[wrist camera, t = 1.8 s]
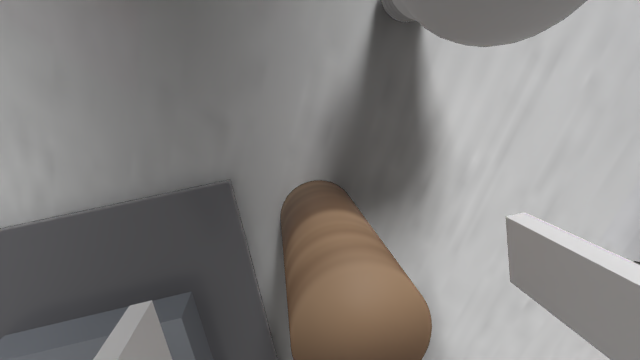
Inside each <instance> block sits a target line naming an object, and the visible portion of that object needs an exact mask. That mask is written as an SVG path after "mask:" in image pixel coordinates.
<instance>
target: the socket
mask: <svg viewBox="0 0 640 360" xmlns="http://www.w3.org/2000/svg"><path fill="white" fill-rule="evenodd" d="M151 300H152V302H153V305H154V308H155V311H156V313H157V316H158V319H159V322H160V325H161V328H162V331H163V334H164V337H165V340H166V343H167V346H168V349H169V351H170V354H171V357H172V360H278V359H277V356H276V352H275V348H274V344H273V340H272V337H271V333H270V329H269V325H268V321H267V317H266V314H265V310H264V306H263V302H262V298H261V295H260V291H259V287H258V283H257V279H256V276H255V272H254V268H253V264H252V260H251V256H250V253H249V249H248V245H247V241H246V237H245V234H244V230H243V226H242V222H241V218H240V215H239V211H238V207H237V203H236V199H235V195H234V192H233V188H232V184H231V180H225V181H221V182H216V183H211V184H207V185H202V186H197V187H192V188H188V189H183V190H178V191H174V192H169V193H164V194H160V195H155V196H150V197H146V198H141V199H136V200H132V201H127V202H122V203H117V204H113V205H108V206H103V207H99V208H94V209H89V210H85V211H80V212H75V213H71V214H66V215H61V216H57V217H52V218H47V219H42V220H38V221H33V222H28V223H24V224H19V225H14V226H10V227H5V228H0V360H93V359H94V358H95V356H96V355H97V353H98V352H99V350H100V349H101V347H102V346H103V344H104V343H105V341H106V340H107V338H108V337H109V335H110V334H111V332H112V331H113V329H114V328H115V326H116V325H117V323H118V322H119V320H120V319H121V318H122V316H123V315H124V313H125V312H126V310H127V309H128V307H129V306H130V305H134V304H138V303H143V302H147V301H151Z"/></svg>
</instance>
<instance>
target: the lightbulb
mask: <svg viewBox="0 0 640 360" xmlns="http://www.w3.org/2000/svg"><path fill="white" fill-rule="evenodd" d="M586 1H587V0H381V2H382V5H383V7H384V10H385V11H386V12H387V14H388V15H389V16H390V17H392V18H393V19H395V20H397V21H400V22H411V21H418V22H419V23H420V24H421V25H422V26H423V27H424V28H425V29H427V30H429V31H430V32H432V33H434V34H435V35H437V36H439V37H440V38H443V39H446V40H449V41H452V42H455V43H459V44H463V45H468V46H478V47H490V46H498V45H505V44H511V43H515V42H518V41H521V40H524V39H527V38H530V37H533V36H535V35H537V34H539V33H541V32H543V31H545V30H547V29H548V28H550V27H552V26H554V25H555V24H557V23H559V22H560V21H562V20H564V19H565V18H567V17H568V16H569V15H570V14H572V13H573V12H574V11H575V10H576V9H578V8H579V7H580V6H581V5H582V4H583V3H585V2H586Z"/></svg>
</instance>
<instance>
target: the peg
mask: <svg viewBox="0 0 640 360" xmlns="http://www.w3.org/2000/svg"><path fill="white" fill-rule="evenodd" d="M281 230H282V242H283V255H284V267H285V280H286V292H287V305H288V317H289V330H290V342H291V351H292V356H293V359H294V360H422V358H423V356H424V354H425V352H426V350H427V348H428V345H429V342H430V337H431V330H432V323H431V315H430V311H429V308H428V306H427V303H426V301H425V300H424V298H423V296H422V295H421V294H420V292H419V291H418V290H417V288H416V287H415V285H414V284H413V283H412V281H411V280H410V279H409V277H408V276H407V275H406V273H405V272H404V270H403V269H402V268H401V266H400V265H399V264H398V262H397V261H396V260H395V258H394V257H393V255H392V254H391V253H390V251H389V250H388V249H387V247H386V246H385V245H384V243H383V242H382V240H381V239H380V238H379V236H378V235H377V234H376V232H375V231H374V230H373V228H372V227H371V225H370V224H369V223H368V221H367V220H366V219H365V217H364V216H363V215H362V213H361V212H360V210H359V209H358V208H357V206H356V205H355V204H354V202H353V201H352V200H351V198H350V197H349V195H348V194H347V193H346V192H345V191H344V190H343V189H342V188H341V187H339V186H338V185H336V184H334V183H331V182H328V181H322V180H316V181H310V182H306V183H304V184H302V185H300V186H298V187H297V188H295V189H294V190H293V191H292V192H291V193H290V194H289V195H288V196H287V198H286V199H285V201H284V203H283V206H282V209H281Z"/></svg>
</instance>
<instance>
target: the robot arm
mask: <svg viewBox="0 0 640 360" xmlns="http://www.w3.org/2000/svg"><path fill="white" fill-rule="evenodd" d="M506 228H507V243H508V257H509V271H510V282H511V283H513V284H514V285H515V286H516V287H518V288H519V289H520V290H522V291H523V292H524V293H526V294H527V295H528V296H529V297H531V298H532V299H533V300H535V301H536V302H537V303H538V304H540V305H541V306H542V307H544V308H545V309H546V310H547V311H549V312H550V313H551V314H553V315H554V316H555V317H556V318H558V319H559V320H560V321H562V322H563V323H564V324H565V325H567V326H568V327H569V328H571V329H572V330H573V331H574V332H576V333H577V334H578V335H580V336H581V337H582V338H583V339H585V340H586V341H587V342H589V343H590V344H591V345H592V346H594V347H595V348H596V349H598V350H599V351H600V352H602V353H603V354H604V355H605V356H607V357H608V358H609V359H611V360H640V262H636V261H634V262H632V261H630V260H628V259H626V258H624V257H621V256H619V255H617V254H615V253H613V252H611V251H608V250H606V249H604V248H602V247H600V246H597V245H595V244H593V243H591V242H589V241H587V240H584V239H582V238H580V237H578V236H576V235H573V234H571V233H569V232H567V231H565V230H563V229H560V228H558V227H556V226H554V225H552V224H549V223H547V222H545V221H543V220H541V219H539V218H536V217H534V216H532V215H530V214H528V213H525V212H523V213H519V214H515V215H510V216H506ZM93 360H172V357H171V354H170V351H169V349H168V346H167V343H166V340H165V337H164V334H163V331H162V328H161V325H160V322H159V319H158V316H157V313H156V311H155V308H154V305H153V302H152V300H151V301H147V302H143V303H138V304H134V305H130V306H129V307H128V309H127V310H126V312H125V313H124V315H123V316H122V318H121V319H120V320H119V322H118V323H117V325H116V326H115V328H114V329H113V331H112V332H111V334H110V335H109V337H108V338H107V340H106V341H105V343H104V344H103V346H102V347H101V349H100V350H99V352H98V353H97V355H96V356H95V358H94V359H93Z"/></svg>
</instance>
